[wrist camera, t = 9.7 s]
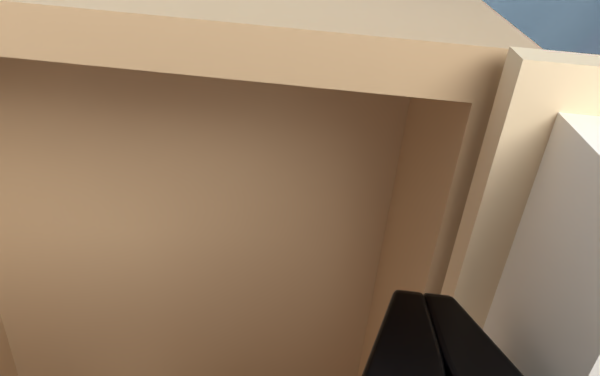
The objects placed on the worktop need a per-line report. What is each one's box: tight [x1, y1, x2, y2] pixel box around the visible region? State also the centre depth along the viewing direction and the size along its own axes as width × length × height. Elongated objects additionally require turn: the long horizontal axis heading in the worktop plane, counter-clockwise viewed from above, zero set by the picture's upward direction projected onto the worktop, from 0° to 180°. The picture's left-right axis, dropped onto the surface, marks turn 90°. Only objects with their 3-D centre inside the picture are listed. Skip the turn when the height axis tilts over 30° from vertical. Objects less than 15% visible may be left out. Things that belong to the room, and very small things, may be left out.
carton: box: [0, 0, 542, 376], centre depth 14 cm, size 14×16×6 cm
